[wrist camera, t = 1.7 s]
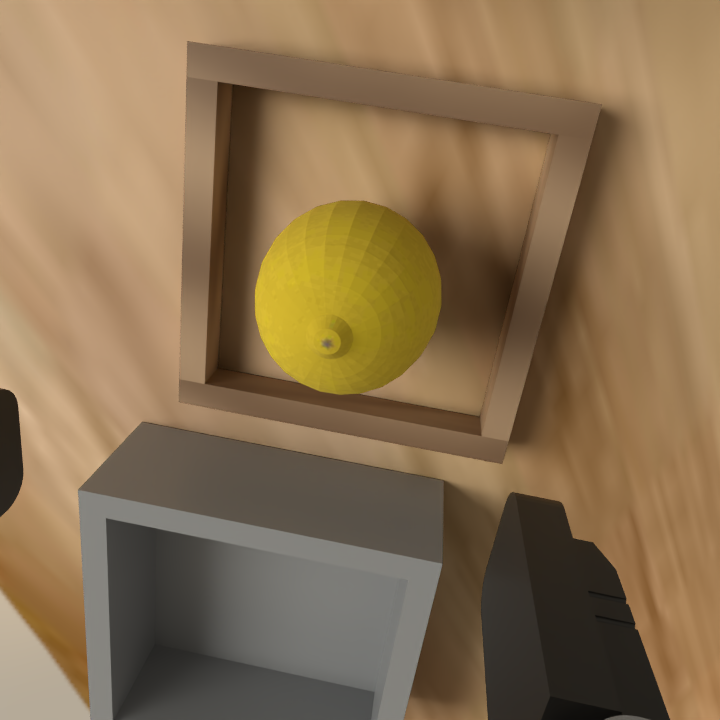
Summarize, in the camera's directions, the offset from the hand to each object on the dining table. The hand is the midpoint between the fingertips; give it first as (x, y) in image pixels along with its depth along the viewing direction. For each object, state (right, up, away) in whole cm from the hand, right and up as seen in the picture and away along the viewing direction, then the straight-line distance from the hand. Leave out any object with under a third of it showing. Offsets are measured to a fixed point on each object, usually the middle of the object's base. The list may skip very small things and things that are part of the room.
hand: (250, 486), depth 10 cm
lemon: (+2, +6, +13) cm, 14 cm away
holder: (+2, +6, +13) cm, 14 cm away
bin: (-2, -8, +19) cm, 20 cm away
